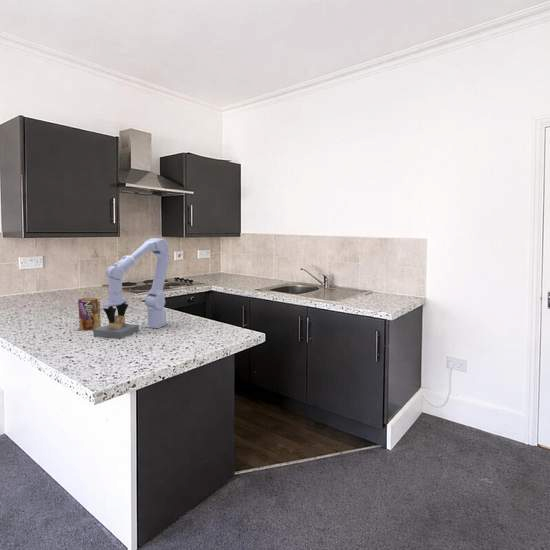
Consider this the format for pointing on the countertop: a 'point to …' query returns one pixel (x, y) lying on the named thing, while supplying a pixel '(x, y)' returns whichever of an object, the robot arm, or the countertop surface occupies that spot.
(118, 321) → the tan cube
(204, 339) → the countertop surface
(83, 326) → the candy box
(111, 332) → the base block
